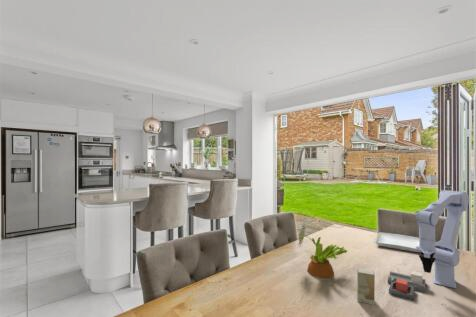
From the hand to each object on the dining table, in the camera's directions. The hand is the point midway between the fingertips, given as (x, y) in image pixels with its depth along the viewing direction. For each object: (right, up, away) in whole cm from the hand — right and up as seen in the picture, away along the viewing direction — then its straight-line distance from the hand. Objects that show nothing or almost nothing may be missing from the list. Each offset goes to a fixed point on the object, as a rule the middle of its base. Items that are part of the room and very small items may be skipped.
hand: (427, 269), depth 110 cm
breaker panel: (-5, -10, +7) cm, 13 cm away
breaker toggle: (-2, -8, +4) cm, 9 cm away
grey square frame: (-13, -10, -2) cm, 16 cm away
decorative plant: (-41, -10, +18) cm, 45 cm away
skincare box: (-31, -10, -7) cm, 33 cm away
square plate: (+26, -10, +59) cm, 65 cm away
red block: (-12, -10, -2) cm, 16 cm away
